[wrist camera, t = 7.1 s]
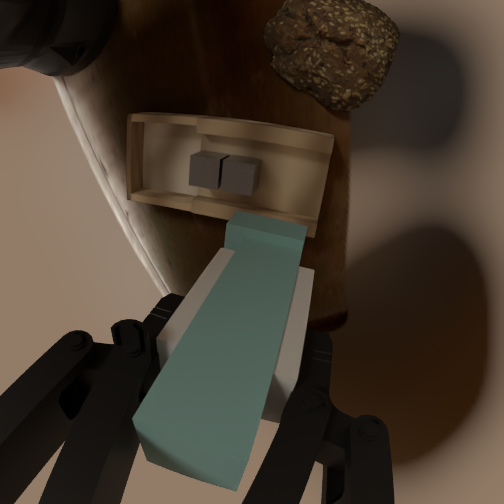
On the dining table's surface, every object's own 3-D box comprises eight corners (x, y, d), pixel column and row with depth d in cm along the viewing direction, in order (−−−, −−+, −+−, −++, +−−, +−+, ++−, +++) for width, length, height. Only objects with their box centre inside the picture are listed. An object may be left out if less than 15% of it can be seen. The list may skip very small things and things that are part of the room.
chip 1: (200, 177, 32) (188, 185, 30) (202, 150, 31) (190, 155, 28) (227, 182, 32) (217, 190, 29) (229, 154, 30) (220, 159, 28)
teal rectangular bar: (307, 226, 17) (251, 451, 6) (292, 285, 19) (234, 494, 8) (237, 210, 18) (95, 392, 6) (230, 270, 20) (123, 453, 8)
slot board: (333, 134, 29) (334, 138, 26) (315, 224, 34) (314, 238, 31) (142, 112, 32) (125, 114, 29) (141, 191, 37) (125, 200, 34)
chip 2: (229, 182, 32) (220, 190, 29) (232, 154, 30) (223, 159, 28) (258, 187, 31) (251, 196, 29) (262, 158, 30) (255, 164, 27)
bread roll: (411, 33, 22) (424, 23, 18) (355, 125, 28) (360, 129, 24) (299, -26, 22) (293, -45, 17) (244, 65, 28) (230, 59, 24)
